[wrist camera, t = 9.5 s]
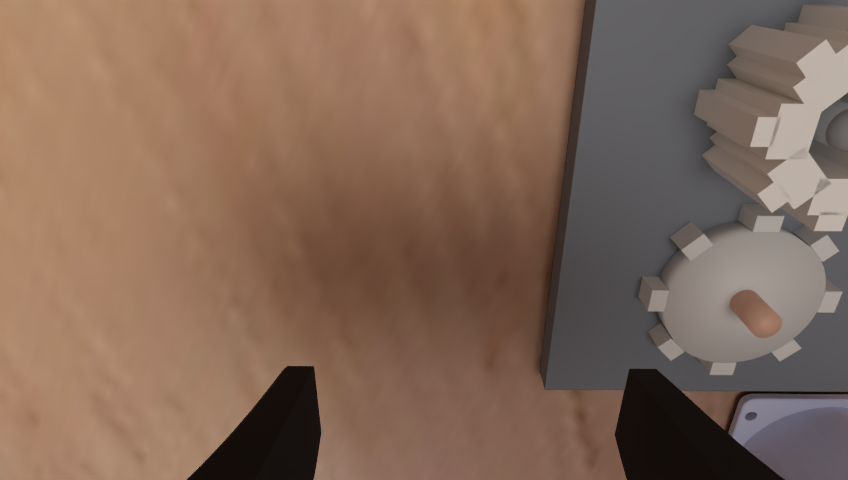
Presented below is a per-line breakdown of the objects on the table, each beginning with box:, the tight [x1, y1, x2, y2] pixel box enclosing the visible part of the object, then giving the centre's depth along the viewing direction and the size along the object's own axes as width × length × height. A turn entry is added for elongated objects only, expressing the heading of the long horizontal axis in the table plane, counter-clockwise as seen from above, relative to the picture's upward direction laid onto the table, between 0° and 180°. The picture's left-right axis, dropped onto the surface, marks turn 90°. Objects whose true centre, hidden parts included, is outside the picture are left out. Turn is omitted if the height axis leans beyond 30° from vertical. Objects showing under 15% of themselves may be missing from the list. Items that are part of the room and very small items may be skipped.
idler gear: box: [694, 4, 848, 231], centre depth 16 cm, size 6×6×4 cm
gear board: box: [540, 0, 848, 392], centre depth 17 cm, size 24×13×5 cm, turn 0°
